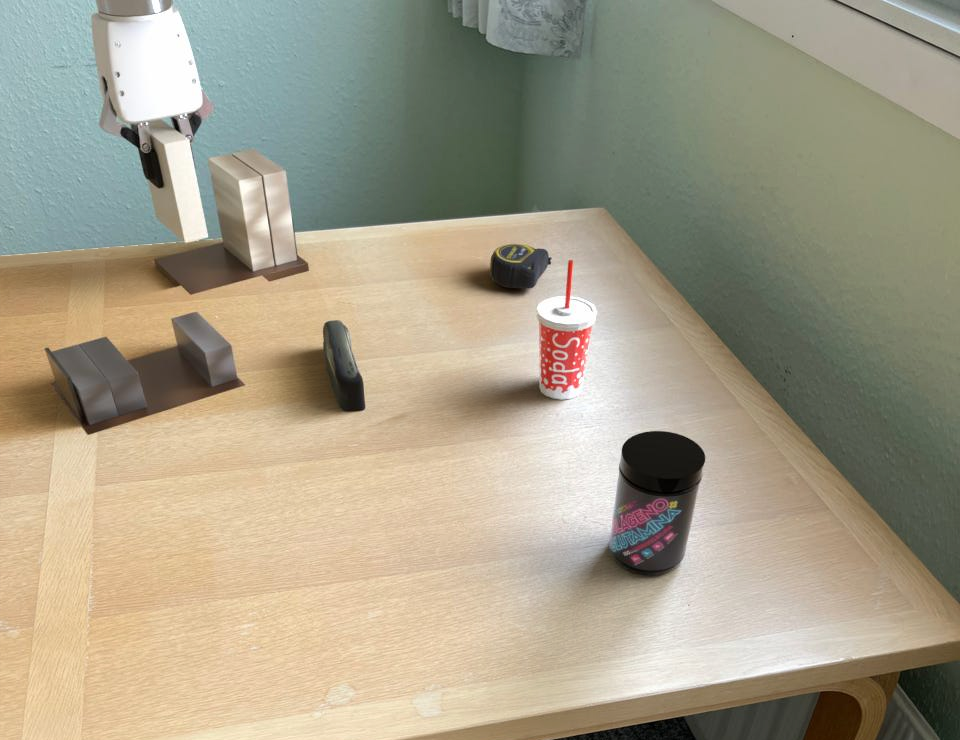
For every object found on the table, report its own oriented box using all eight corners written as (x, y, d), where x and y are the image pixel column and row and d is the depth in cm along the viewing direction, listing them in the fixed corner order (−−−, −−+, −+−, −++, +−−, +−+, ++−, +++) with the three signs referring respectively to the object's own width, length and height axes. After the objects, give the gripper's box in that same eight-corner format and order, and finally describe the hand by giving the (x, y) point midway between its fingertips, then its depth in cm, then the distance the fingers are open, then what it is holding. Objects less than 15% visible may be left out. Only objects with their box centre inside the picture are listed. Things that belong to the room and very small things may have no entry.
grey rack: (90, 443, 95) (73, 389, 91) (52, 390, 102) (34, 338, 98) (247, 393, 102) (237, 341, 98) (202, 347, 109) (191, 296, 105)
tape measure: (533, 298, 118) (535, 268, 116) (481, 288, 120) (482, 259, 117) (550, 275, 123) (552, 246, 120) (500, 266, 124) (501, 238, 122)
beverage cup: (523, 395, 102) (529, 267, 92) (545, 369, 106) (553, 243, 96) (577, 408, 100) (589, 279, 90) (596, 381, 104) (610, 254, 94)
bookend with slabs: (192, 302, 117) (170, 201, 108) (155, 266, 123) (132, 169, 115) (309, 270, 123) (297, 172, 115) (267, 238, 130) (253, 144, 121)
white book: (185, 243, 113) (163, 144, 105) (156, 218, 118) (134, 122, 111) (208, 237, 114) (189, 139, 107) (179, 213, 120) (158, 117, 112)
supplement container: (594, 539, 85) (606, 440, 78) (660, 522, 87) (678, 424, 80) (629, 586, 81) (646, 486, 73) (698, 568, 83) (722, 468, 75)
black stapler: (367, 376, 95) (340, 305, 105) (337, 380, 95) (313, 309, 105) (370, 419, 99) (344, 346, 109) (342, 423, 98) (317, 350, 108)
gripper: (192, -19, 105) (223, 158, 118) (43, 0, 98) (93, 186, 111) (220, -6, 101) (249, 177, 114) (66, 15, 94) (115, 206, 107)
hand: (171, 179), depth 112 cm, fingers closed on white book, 3 cm apart
